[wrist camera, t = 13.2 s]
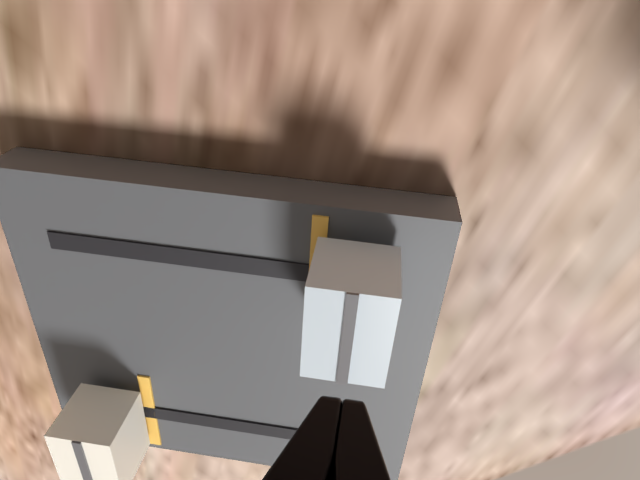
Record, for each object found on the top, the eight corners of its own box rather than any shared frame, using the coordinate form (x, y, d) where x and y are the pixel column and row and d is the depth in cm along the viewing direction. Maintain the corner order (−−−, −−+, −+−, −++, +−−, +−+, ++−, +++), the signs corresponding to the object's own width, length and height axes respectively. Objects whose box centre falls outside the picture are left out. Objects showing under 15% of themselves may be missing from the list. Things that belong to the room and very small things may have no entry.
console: (456, 196, 19) (462, 223, 17) (396, 452, 28) (396, 487, 26) (16, 146, 20) (-20, 166, 19) (88, 404, 29) (68, 435, 27)
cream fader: (140, 392, 24) (108, 448, 21) (150, 443, 26) (122, 501, 23) (81, 383, 24) (42, 438, 21) (95, 435, 26) (62, 490, 24)
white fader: (400, 246, 18) (401, 301, 15) (385, 330, 20) (384, 390, 17) (317, 236, 18) (304, 288, 15) (311, 320, 20) (299, 378, 17)
